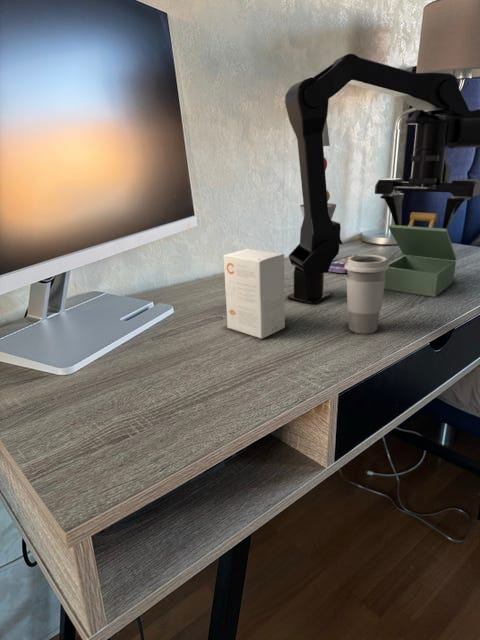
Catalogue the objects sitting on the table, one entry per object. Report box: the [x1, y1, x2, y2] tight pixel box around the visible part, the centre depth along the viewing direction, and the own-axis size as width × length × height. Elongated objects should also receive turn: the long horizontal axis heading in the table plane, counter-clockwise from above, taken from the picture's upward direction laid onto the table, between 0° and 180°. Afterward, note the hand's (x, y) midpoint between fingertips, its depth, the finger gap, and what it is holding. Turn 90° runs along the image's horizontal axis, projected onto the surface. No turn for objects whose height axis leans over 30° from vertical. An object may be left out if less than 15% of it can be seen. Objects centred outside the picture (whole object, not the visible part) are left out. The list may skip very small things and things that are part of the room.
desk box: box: [384, 254, 457, 298], centre depth 95 cm, size 12×11×5 cm
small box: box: [223, 248, 286, 339], centre depth 74 cm, size 8×6×13 cm
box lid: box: [388, 211, 457, 262], centre depth 94 cm, size 13×11×5 cm
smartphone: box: [328, 255, 351, 274], centre depth 113 cm, size 1×7×15 cm
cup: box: [345, 253, 389, 335], centre depth 73 cm, size 7×7×12 cm
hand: (420, 230), depth 91 cm, fingers open, 9 cm apart
